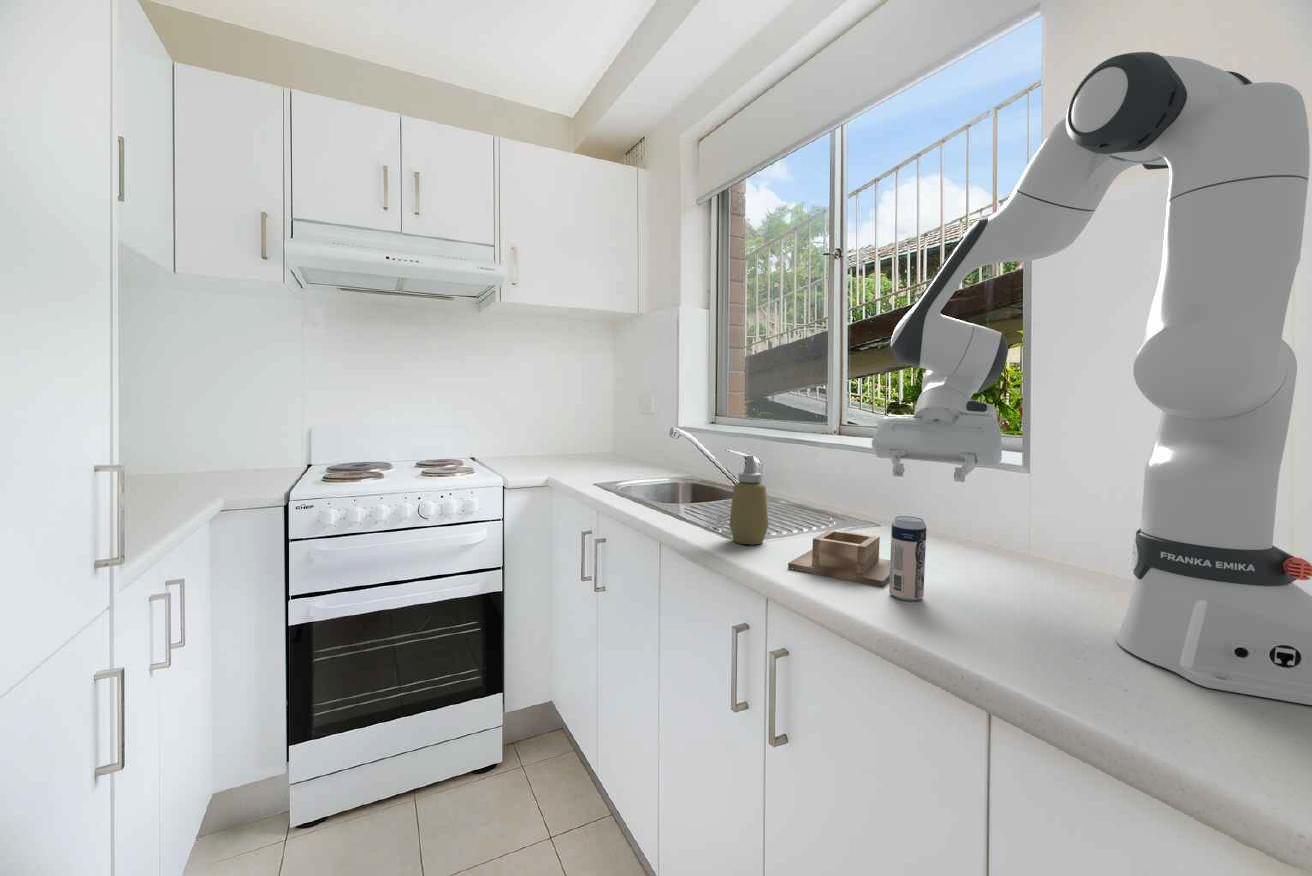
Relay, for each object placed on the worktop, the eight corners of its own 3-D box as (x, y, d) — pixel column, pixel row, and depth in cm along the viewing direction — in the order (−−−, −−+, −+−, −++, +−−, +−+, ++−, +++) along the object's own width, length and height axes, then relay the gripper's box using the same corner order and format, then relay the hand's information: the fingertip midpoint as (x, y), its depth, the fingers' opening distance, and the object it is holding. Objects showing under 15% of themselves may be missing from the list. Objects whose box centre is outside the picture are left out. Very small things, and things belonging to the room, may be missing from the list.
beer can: (926, 603, 84) (930, 523, 83) (892, 601, 85) (895, 521, 84) (918, 592, 89) (922, 516, 88) (886, 590, 90) (889, 514, 89)
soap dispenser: (727, 537, 123) (728, 453, 122) (765, 537, 123) (767, 454, 122) (730, 546, 115) (732, 457, 114) (771, 547, 115) (773, 458, 114)
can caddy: (902, 567, 102) (903, 537, 101) (882, 587, 91) (884, 553, 91) (814, 552, 111) (815, 524, 111) (788, 568, 101) (788, 537, 100)
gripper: (877, 403, 107) (860, 460, 100) (1005, 405, 95) (996, 469, 88) (883, 426, 111) (866, 482, 104) (1006, 431, 99) (997, 494, 92)
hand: (927, 476), depth 96 cm, fingers open, 8 cm apart
